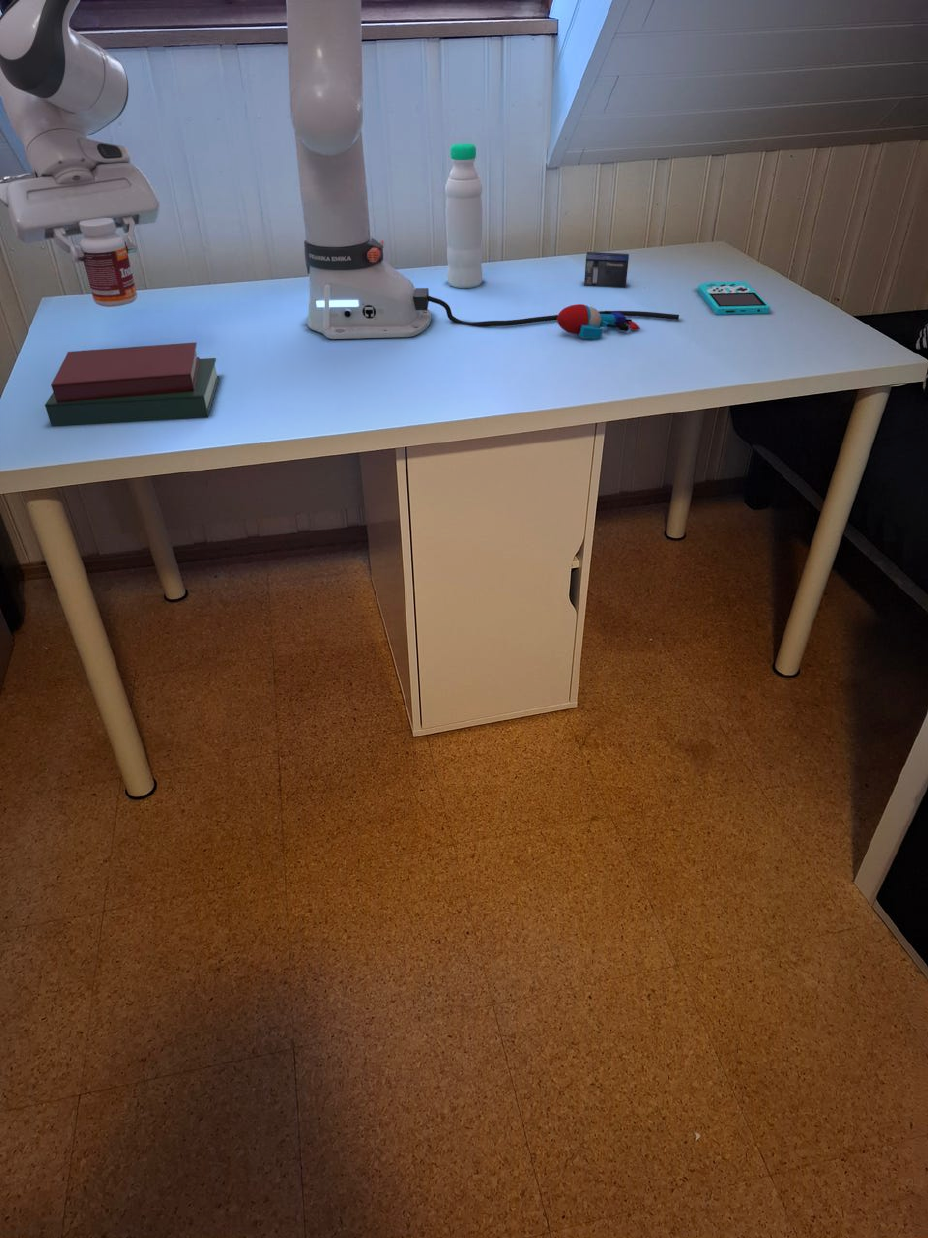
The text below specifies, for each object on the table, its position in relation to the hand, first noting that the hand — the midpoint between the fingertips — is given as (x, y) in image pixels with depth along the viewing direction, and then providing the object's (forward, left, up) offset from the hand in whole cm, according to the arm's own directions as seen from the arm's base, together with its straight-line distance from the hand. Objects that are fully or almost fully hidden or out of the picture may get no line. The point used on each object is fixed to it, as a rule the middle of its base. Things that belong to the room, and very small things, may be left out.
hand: (106, 255), depth 124 cm
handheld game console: (-95, -52, -20) cm, 110 cm away
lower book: (-3, +6, -19) cm, 20 cm away
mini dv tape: (-71, -59, -20) cm, 94 cm away
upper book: (-2, +5, -16) cm, 17 cm away
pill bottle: (+1, 0, -7) cm, 7 cm away
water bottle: (-43, -57, -20) cm, 74 cm away
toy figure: (-70, -32, -20) cm, 79 cm away
